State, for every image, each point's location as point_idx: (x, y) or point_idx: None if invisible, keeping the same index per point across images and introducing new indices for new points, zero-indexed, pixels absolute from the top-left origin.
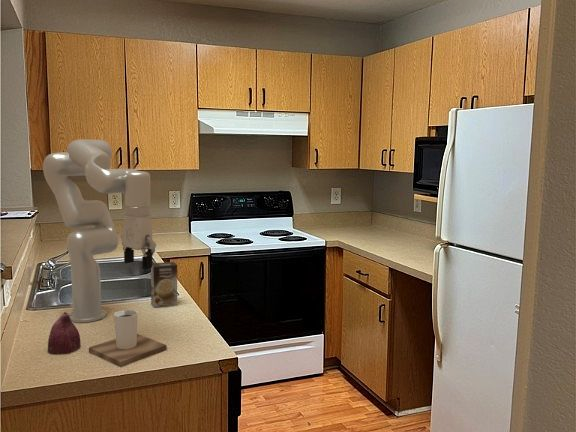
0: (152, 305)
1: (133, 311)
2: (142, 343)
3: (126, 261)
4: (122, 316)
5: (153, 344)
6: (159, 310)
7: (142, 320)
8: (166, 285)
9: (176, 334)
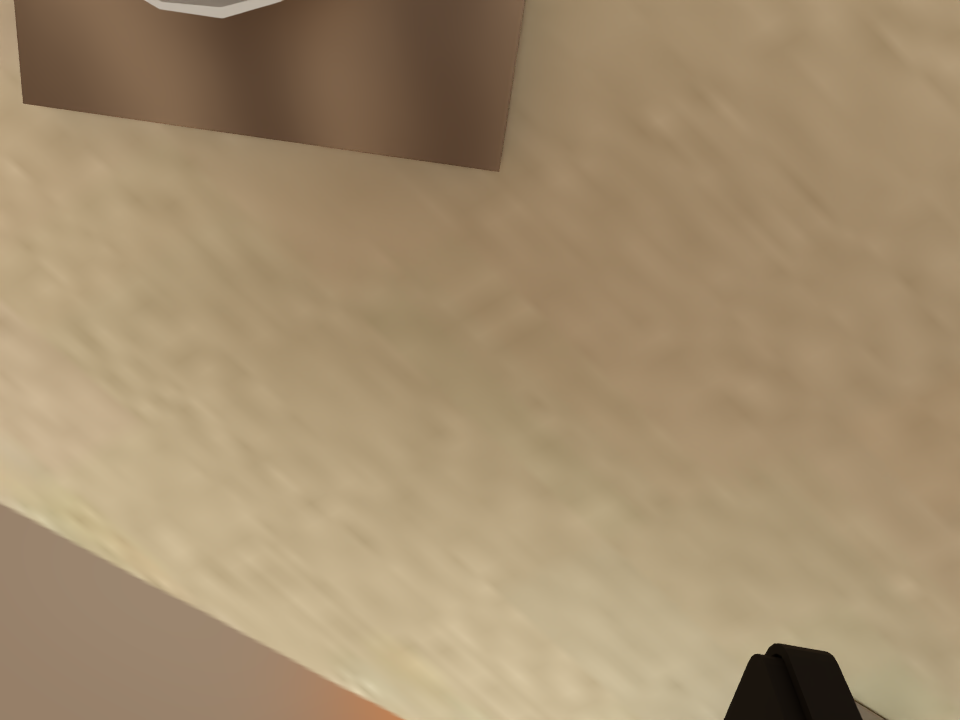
0: (867, 709)
1: (219, 5)
2: None
3: (761, 699)
4: None
5: (119, 44)
6: None
7: (722, 467)
8: None
9: (258, 383)
